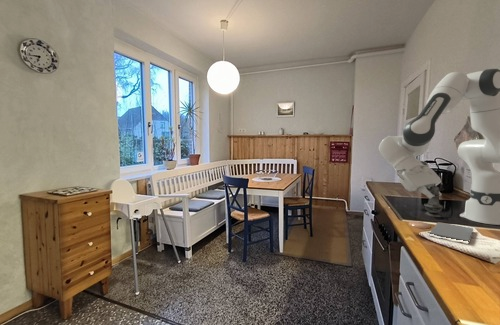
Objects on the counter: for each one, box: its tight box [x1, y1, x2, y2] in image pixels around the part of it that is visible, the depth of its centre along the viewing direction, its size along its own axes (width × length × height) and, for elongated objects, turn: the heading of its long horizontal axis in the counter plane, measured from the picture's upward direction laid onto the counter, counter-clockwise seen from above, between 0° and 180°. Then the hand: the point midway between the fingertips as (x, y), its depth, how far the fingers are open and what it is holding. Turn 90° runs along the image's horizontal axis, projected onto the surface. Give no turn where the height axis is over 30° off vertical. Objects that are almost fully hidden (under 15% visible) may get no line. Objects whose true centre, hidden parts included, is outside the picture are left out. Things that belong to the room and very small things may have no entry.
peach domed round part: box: [408, 220, 431, 229], centre depth 112 cm, size 8×8×1 cm
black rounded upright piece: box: [423, 184, 444, 218], centre depth 92 cm, size 6×6×12 cm
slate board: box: [429, 221, 474, 243], centre depth 101 cm, size 18×12×2 cm, turn 134°
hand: (435, 196), depth 91 cm, fingers closed on black rounded upright piece, 4 cm apart
